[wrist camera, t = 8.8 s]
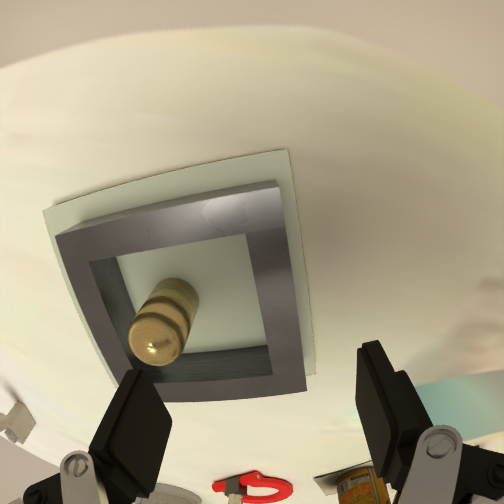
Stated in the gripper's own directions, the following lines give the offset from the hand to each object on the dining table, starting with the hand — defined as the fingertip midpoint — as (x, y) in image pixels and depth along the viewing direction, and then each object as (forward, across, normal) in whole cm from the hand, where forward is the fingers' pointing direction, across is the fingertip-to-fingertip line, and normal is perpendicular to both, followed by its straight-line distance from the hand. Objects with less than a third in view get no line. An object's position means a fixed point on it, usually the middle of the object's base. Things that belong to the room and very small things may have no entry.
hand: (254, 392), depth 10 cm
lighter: (+10, +33, +14) cm, 37 cm away
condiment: (+10, -7, +30) cm, 32 cm away
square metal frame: (+8, +4, 0) cm, 9 cm away
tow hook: (+10, +5, +29) cm, 31 cm away
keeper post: (+8, +5, 0) cm, 10 cm away
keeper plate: (+10, +5, 0) cm, 11 cm away
